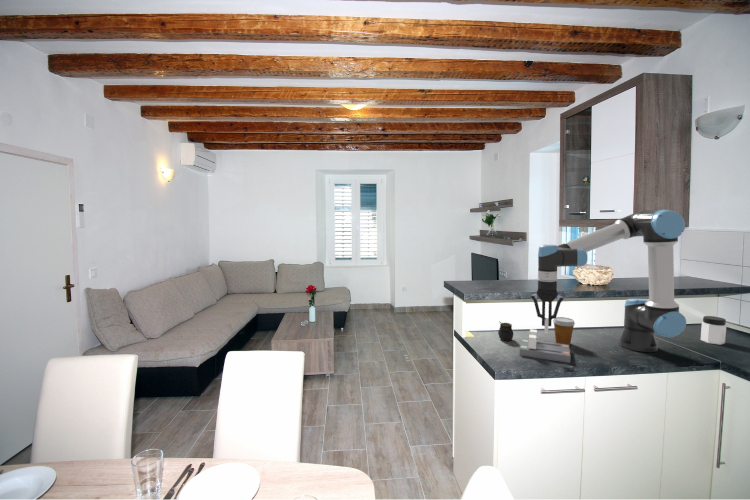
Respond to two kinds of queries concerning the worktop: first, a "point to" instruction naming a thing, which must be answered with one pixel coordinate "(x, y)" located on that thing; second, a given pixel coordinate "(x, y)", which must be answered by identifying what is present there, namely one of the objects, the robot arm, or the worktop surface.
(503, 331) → the mate gourd
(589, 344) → the worktop surface
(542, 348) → the panel
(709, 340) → the jar
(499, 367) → the worktop surface
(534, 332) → the block
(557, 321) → the disposable coffee cup
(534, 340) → the block
